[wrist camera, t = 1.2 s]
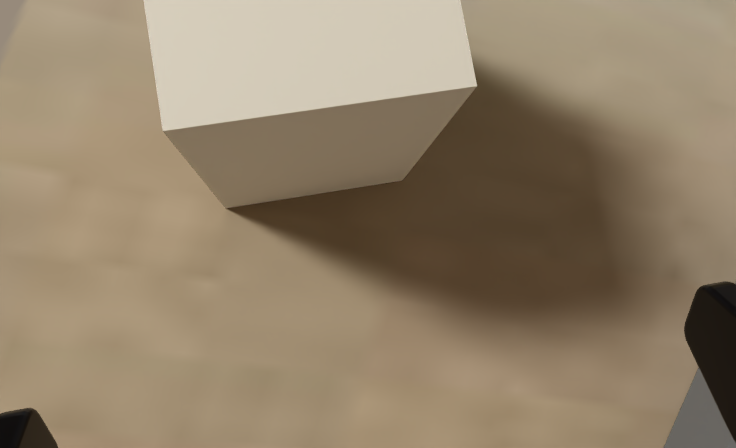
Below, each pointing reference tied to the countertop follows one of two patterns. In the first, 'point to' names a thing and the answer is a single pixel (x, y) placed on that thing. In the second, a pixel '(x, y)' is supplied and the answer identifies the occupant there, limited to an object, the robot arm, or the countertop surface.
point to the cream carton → (306, 89)
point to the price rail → (699, 421)
